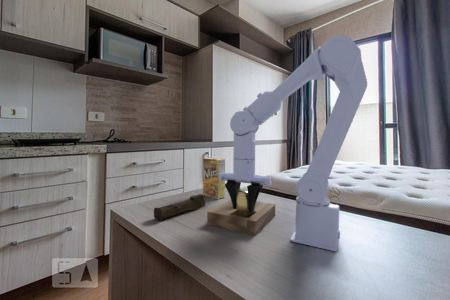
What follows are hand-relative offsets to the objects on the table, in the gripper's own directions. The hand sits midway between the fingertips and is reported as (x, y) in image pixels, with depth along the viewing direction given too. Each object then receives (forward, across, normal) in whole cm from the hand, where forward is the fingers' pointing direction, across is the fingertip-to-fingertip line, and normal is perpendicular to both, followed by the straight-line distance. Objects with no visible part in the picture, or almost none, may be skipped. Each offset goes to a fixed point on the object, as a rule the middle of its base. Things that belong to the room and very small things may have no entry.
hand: (243, 209), depth 59 cm
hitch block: (+4, +2, -4) cm, 6 cm away
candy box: (+5, +23, -21) cm, 31 cm away
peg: (+2, 0, 0) cm, 2 cm away
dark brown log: (+5, +21, 0) cm, 22 cm away
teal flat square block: (-1, +4, -8) cm, 9 cm away
